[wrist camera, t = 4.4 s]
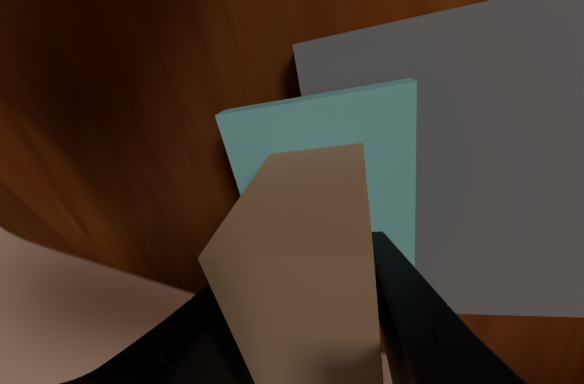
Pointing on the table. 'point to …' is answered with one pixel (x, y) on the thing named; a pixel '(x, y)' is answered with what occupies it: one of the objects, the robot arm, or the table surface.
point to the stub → (314, 229)
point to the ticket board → (485, 145)
